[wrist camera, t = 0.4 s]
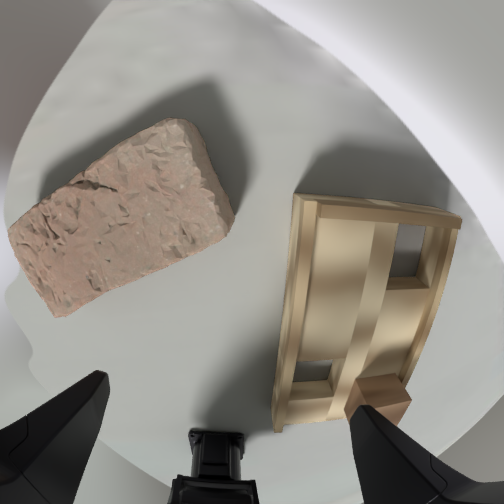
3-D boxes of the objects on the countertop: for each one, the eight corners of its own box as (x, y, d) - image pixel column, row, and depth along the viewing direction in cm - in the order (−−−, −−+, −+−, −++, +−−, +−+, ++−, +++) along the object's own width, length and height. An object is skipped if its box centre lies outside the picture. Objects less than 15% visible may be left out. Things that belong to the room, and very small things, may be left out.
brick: (191, 116, 18) (178, 105, 14) (240, 219, 21) (240, 238, 17) (34, 218, 20) (1, 233, 15) (77, 297, 23) (52, 324, 18)
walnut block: (381, 402, 25) (394, 429, 21) (343, 409, 25) (354, 438, 21) (395, 372, 24) (411, 399, 20) (355, 378, 23) (369, 409, 20)
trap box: (379, 395, 28) (393, 422, 24) (270, 407, 27) (275, 440, 23) (435, 207, 21) (468, 219, 17) (293, 192, 20) (308, 203, 16)
